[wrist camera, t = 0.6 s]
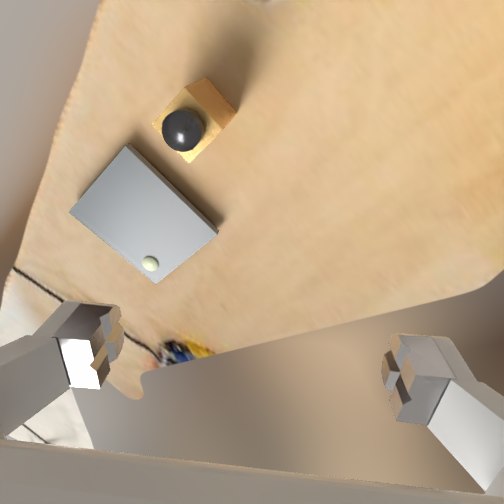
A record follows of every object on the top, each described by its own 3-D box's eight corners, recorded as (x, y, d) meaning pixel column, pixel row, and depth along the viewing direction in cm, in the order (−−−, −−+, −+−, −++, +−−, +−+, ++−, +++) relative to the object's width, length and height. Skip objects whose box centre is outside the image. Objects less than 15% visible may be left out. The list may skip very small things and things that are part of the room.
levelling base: (132, 141, 44) (124, 146, 41) (220, 227, 49) (216, 235, 47) (77, 205, 50) (67, 213, 47) (160, 276, 55) (155, 285, 53)
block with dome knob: (206, 77, 39) (177, 90, 29) (237, 112, 40) (218, 134, 31) (178, 108, 41) (143, 129, 32) (208, 141, 42) (183, 169, 33)
